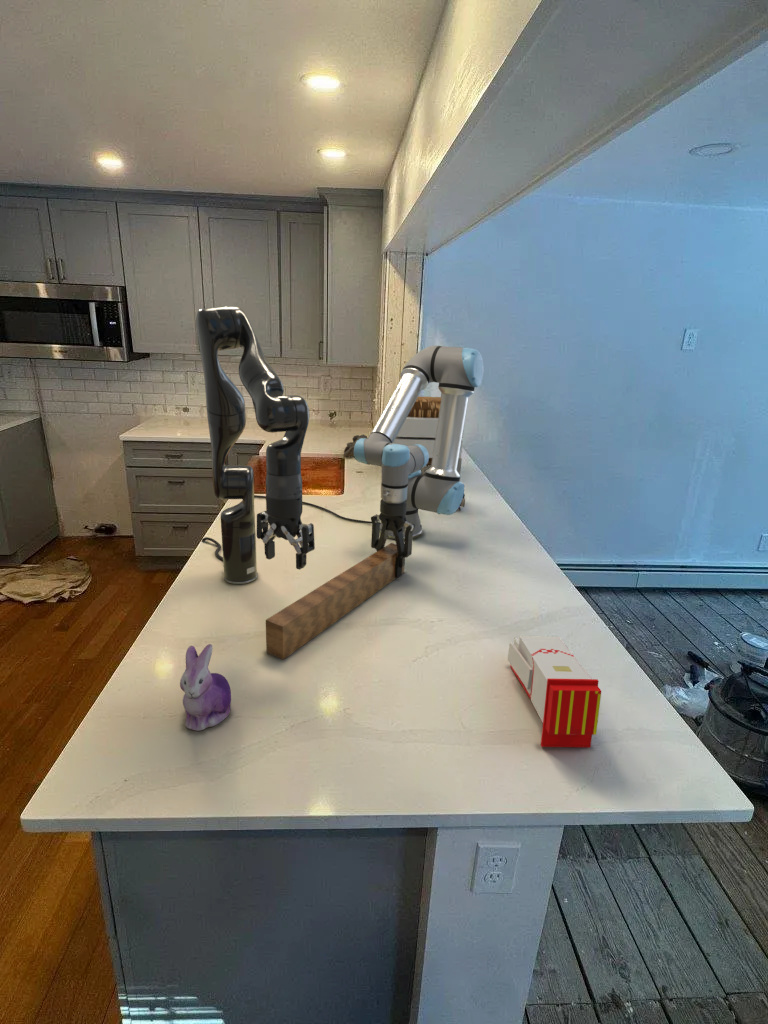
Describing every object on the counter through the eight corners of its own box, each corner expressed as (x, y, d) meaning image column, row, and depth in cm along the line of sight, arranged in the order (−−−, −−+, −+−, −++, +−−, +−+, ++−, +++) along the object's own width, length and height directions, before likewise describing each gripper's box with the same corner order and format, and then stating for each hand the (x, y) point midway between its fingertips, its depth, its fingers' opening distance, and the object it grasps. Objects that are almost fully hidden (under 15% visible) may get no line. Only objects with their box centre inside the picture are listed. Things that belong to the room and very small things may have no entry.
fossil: (343, 440, 315) (365, 425, 310) (354, 454, 317) (375, 439, 312) (337, 454, 295) (359, 438, 290) (348, 468, 298) (371, 453, 293)
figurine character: (465, 515, 224) (460, 499, 237) (467, 498, 221) (462, 483, 234) (448, 515, 224) (444, 499, 237) (450, 498, 220) (445, 482, 234)
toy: (555, 619, 129) (611, 687, 100) (550, 674, 132) (602, 754, 102) (502, 618, 128) (542, 685, 99) (498, 673, 131) (536, 754, 102)
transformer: (382, 463, 289) (386, 382, 275) (445, 464, 293) (451, 384, 279) (390, 482, 257) (394, 392, 243) (460, 483, 261) (468, 394, 247)
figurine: (187, 740, 102) (180, 669, 97) (178, 706, 110) (171, 639, 105) (239, 725, 106) (236, 656, 101) (227, 693, 115) (223, 628, 109)
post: (389, 568, 173) (391, 542, 170) (403, 572, 171) (405, 546, 168) (266, 652, 129) (265, 619, 126) (283, 659, 126) (282, 626, 124)
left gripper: (246, 490, 119) (249, 560, 124) (299, 503, 112) (299, 578, 117) (270, 482, 125) (272, 549, 130) (322, 494, 118) (321, 565, 123)
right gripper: (359, 496, 162) (357, 570, 170) (415, 509, 153) (410, 586, 161) (373, 490, 168) (371, 561, 176) (428, 502, 159) (422, 577, 167)
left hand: (285, 563), depth 124 cm, fingers open, 8 cm apart
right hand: (389, 573), depth 169 cm, fingers closed on post, 5 cm apart
